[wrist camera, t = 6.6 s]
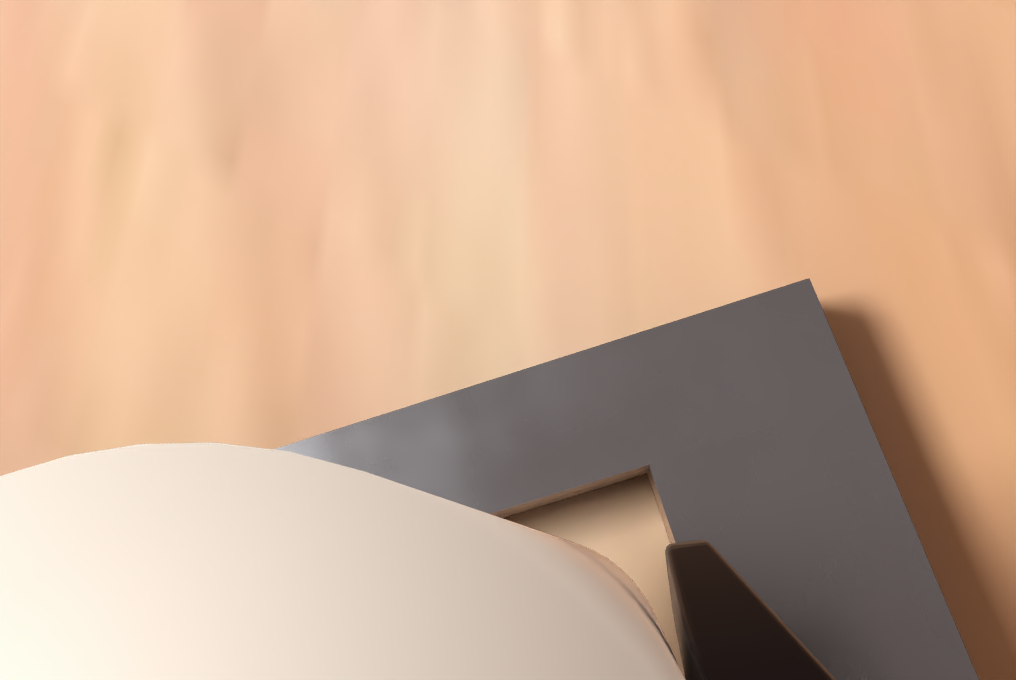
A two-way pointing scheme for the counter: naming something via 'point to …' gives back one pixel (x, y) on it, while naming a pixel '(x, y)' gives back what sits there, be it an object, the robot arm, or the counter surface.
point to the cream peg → (295, 578)
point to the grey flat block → (704, 469)
